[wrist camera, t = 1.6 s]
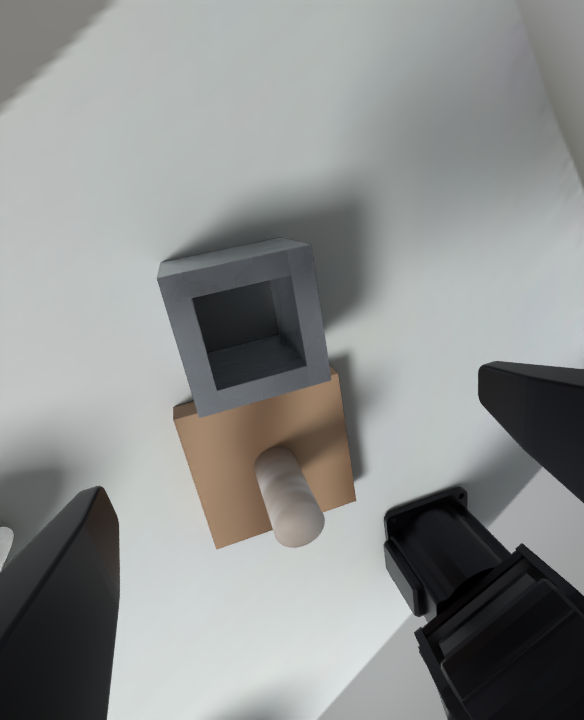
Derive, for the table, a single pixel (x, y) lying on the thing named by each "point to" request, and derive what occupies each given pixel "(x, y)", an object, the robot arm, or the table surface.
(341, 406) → the post stand
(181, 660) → the table surface
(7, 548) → the bust
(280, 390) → the grey square sleeve
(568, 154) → the table surface
